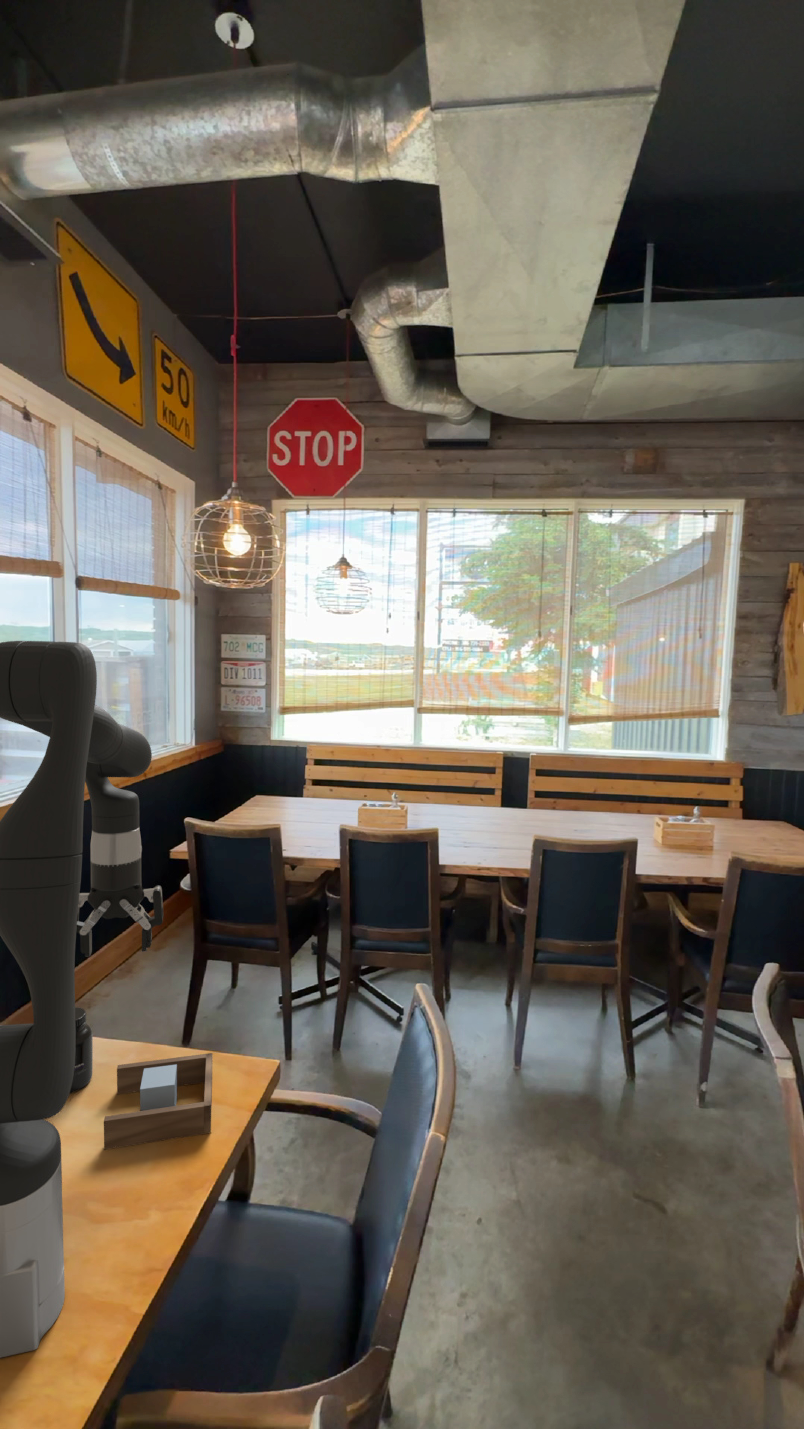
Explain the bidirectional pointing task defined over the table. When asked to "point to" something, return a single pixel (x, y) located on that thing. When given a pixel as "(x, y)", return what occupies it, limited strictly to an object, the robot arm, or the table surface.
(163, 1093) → the slate block
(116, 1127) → the brown three-sided frame
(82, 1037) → the supplement bottle
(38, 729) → the robot arm
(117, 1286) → the table surface
